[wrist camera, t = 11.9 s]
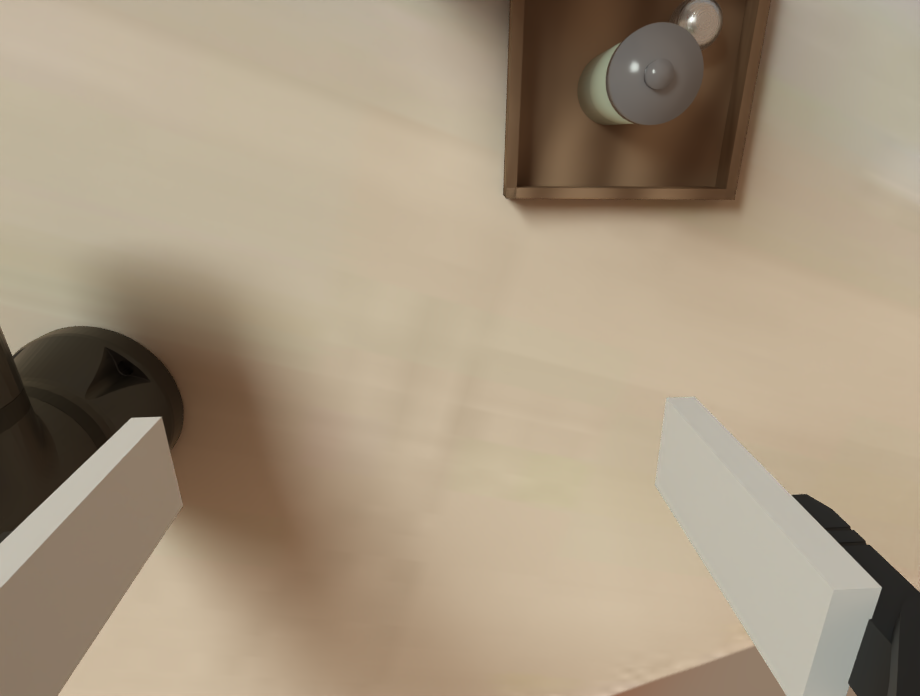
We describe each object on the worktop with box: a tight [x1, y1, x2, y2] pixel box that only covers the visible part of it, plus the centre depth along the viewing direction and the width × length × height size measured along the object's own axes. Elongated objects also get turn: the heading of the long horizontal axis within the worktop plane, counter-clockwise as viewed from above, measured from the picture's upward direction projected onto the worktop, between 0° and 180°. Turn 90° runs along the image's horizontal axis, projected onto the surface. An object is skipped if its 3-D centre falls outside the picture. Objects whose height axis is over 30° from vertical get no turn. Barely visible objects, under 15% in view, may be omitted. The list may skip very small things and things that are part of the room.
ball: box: [669, 0, 723, 51], centre depth 40 cm, size 4×4×4 cm
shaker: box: [577, 22, 704, 125], centre depth 38 cm, size 6×6×11 cm
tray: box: [503, 0, 771, 200], centre depth 42 cm, size 18×16×2 cm
